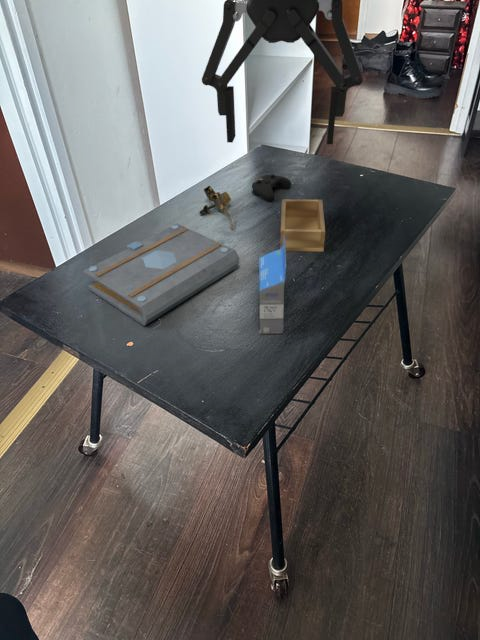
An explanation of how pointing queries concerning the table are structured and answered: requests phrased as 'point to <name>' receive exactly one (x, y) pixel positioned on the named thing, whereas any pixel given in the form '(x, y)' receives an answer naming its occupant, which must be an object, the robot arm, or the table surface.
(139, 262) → the book
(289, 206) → the tray
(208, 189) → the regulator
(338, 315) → the table surface
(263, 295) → the blue cardboard box
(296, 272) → the table surface
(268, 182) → the game controller
